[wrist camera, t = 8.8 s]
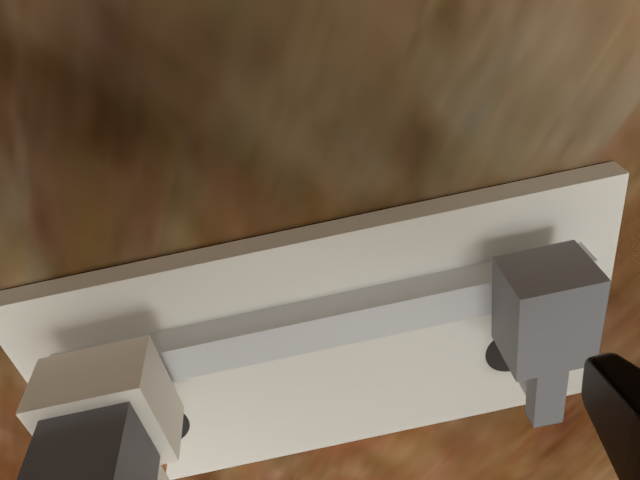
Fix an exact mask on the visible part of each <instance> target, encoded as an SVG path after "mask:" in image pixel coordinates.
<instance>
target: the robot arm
mask: <svg viewBox="0 0 640 480" xmlns="http://www.w3.org/2000/svg"><path fill="white" fill-rule="evenodd" d="M581 394H582V400H583V403H584V406H585V408H586V410H587V412H588V414H589V416H590V419H591V421H592V423H593V425H594V427H595V429H596V431H597V433H598V436H599V438H600V440H601V442H602V444H603V446H604V448H605V450H606V453H607V455H608V457H609V459H610V461H611V463H612V465H613V467H614V470H615V472H616V474H617V476H618V478H619V480H640V368H639V367H637V366H635V365H634V364H632V363H630V362H629V361H627V360H626V359H624V358H622V357H621V356H619V355H617V354H614V353H605V354H600V355H596V356H592V357H589V358H587V359H586V361H585V363H584V370H583V379H582V388H581Z"/></svg>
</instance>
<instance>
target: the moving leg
mask: <svg viewBox="0 0 640 480" xmlns="http://www.w3.org/2000/svg"><path fill="white" fill-rule="evenodd" d="M16 416H17V417H18V418H19V420H20V421H21V422H22V423H23V425H24V426H25V427H26V429H27V430H28V431H29V433H30V434H31V435H32V439H31V442H30V444H29V447H28V450H27V453H26V455H25V458H24V461H23V464H22V466H21V469H20V472H19V475H18V477H17V480H169V478H168V476H167V475H166V470H167V464H168V463H172V462H177V461H179V455H180V445H181V435H182V425H183V416H184V405H183V403H182V401H181V399H180V397H179V395H178V393H177V391H176V389H175V387H174V385H173V383H172V381H171V379H170V377H169V375H168V372H167V370H166V368H165V366H164V364H163V362H162V360H161V358H160V356H159V354H158V352H157V350H156V348H155V346H154V344H153V342H152V340H151V338H150V335H148V336H143V337H138V338H134V339H129V340H124V341H119V342H115V343H110V344H105V345H101V346H96V347H91V348H86V349H82V350H77V351H72V352H68V353H63V354H58V355H53V356H49V357H44V358H39V359H38V360H37V363H36V365H35V368H34V370H33V373H32V375H31V377H30V380H29V382H28V385H27V387H26V390H25V392H24V394H23V397H22V399H21V402H20V404H19V407H18V409H17V412H16Z"/></svg>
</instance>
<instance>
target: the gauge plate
mask: <svg viewBox="0 0 640 480" xmlns="http://www.w3.org/2000/svg"><path fill="white" fill-rule="evenodd" d="M628 178H629V172H627V171H626V170H625V169H623V168H622V167H621V166H620V165H618V164H617V163H616V162H615V161H611V162H606V163H602V164H597V165H592V166H587V167H583V168H578V169H573V170H568V171H564V172H559V173H554V174H550V175H545V176H540V177H535V178H531V179H526V180H521V181H517V182H512V183H507V184H502V185H498V186H493V187H488V188H483V189H479V190H474V191H469V192H465V193H460V194H455V195H450V196H446V197H441V198H436V199H431V200H427V201H422V202H417V203H413V204H408V205H403V206H398V207H394V208H389V209H384V210H379V211H375V212H370V213H365V214H361V215H356V216H351V217H346V218H342V219H337V220H332V221H327V222H323V223H318V224H313V225H309V226H304V227H299V228H294V229H290V230H285V231H280V232H276V233H271V234H266V235H261V236H257V237H252V238H247V239H242V240H238V241H233V242H228V243H224V244H219V245H214V246H209V247H205V248H200V249H195V250H190V251H186V252H181V253H176V254H172V255H167V256H162V257H157V258H153V259H148V260H143V261H138V262H134V263H129V264H124V265H120V266H115V267H110V268H105V269H101V270H96V271H91V272H87V273H82V274H77V275H72V276H68V277H63V278H58V279H53V280H49V281H44V282H39V283H35V284H30V285H25V286H20V287H16V288H11V289H6V290H1V291H0V346H1V347H2V348H3V350H4V351H5V353H6V354H7V355H8V357H9V358H10V360H11V361H12V362H13V364H14V365H15V367H16V368H17V369H18V371H19V372H20V374H21V375H22V376H23V378H24V379H25V381H26V382H27V384H28V382H29V380H30V377H31V375H32V373H33V370H34V368H35V365H36V363H37V360H38V359H39V358H44V357H49V356H53V355H58V354H63V353H68V352H72V351H77V350H82V349H86V348H91V347H96V346H101V345H105V344H110V343H115V342H119V341H124V340H129V339H134V338H138V337H143V336H148V335H150V338H151V340H152V342H153V344H154V346H155V348H156V350H157V352H158V354H159V356H160V358H161V360H162V362H163V364H164V366H165V368H166V370H167V372H168V375H169V377H170V379H171V381H172V383H173V385H174V387H175V389H176V391H177V393H178V395H179V397H180V399H181V401H182V403H183V405H184V416H183V425H182V435H181V445H180V455H179V461H177V462H172V463H168V464H167V470H166V475H167V476H168V478H169V480H173V479H177V478H182V477H187V476H192V475H196V474H201V473H206V472H210V471H215V470H220V469H224V468H229V467H234V466H239V465H243V464H248V463H253V462H257V461H262V460H267V459H272V458H276V457H281V456H286V455H290V454H295V453H300V452H304V451H309V450H314V449H319V448H323V447H328V446H333V445H337V444H342V443H347V442H351V441H356V440H361V439H366V438H370V437H375V436H380V435H384V434H389V433H394V432H398V431H403V430H408V429H413V428H417V427H422V426H427V425H431V424H436V423H441V422H445V421H450V420H455V419H460V418H464V417H469V416H474V415H478V414H483V413H488V412H493V411H497V410H502V409H507V408H511V407H516V406H521V405H525V413H526V415H527V417H528V419H529V421H530V422H531V424H532V426H533V428H537V427H542V426H546V425H551V424H556V423H560V422H563V417H564V409H565V402H566V396H568V395H572V394H577V393H581V388H582V379H583V370H584V363H585V361H586V359H587V358H589V357H592V356H596V355H599V350H600V345H601V339H602V333H603V327H604V321H605V315H606V309H607V303H608V297H609V292H610V286H611V278H612V272H613V266H614V260H615V254H616V249H617V243H618V237H619V231H620V225H621V219H622V213H623V207H624V201H625V195H626V190H627V184H628Z"/></svg>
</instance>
